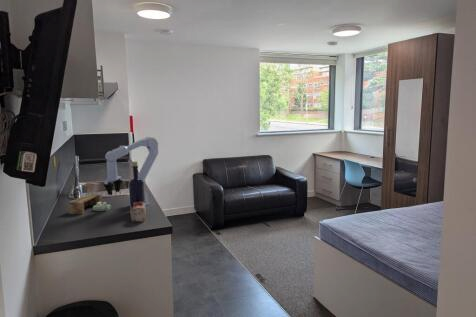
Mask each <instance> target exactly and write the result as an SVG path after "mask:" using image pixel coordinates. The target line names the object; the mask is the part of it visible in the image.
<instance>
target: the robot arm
mask: <svg viewBox="0 0 476 317" xmlns="http://www.w3.org/2000/svg"><path fill="white" fill-rule="evenodd" d="M140 147H146V148H147V151H148V155H147V157H146V158H145V160H144V162H143V164H142V166H141V168H140V170H139V171H138V178H139V179H141V180H142V181H143V182H144V185H145V183H146V178H147V176H148V174H149V173H150V170H151V168H152V166H153V165H154V162H155V161H156V158H157V156H158V155H159V142H158V140H157V139H156V138H155V137H151V136H146V137H143V138H141V139H138V140H137V141H134V142H133V143H131V144H128V145H119V147H117V148H114V149H111V150H109V151H107V152H106V153H105V156H104V158H105V159H106V173H107V174H106V175H107V178H106V179H105V180H104V181H103V186H104V188H105V189H106V192H107V195H108V196H112V195H113V188H114V190H115V193H120V191H121V190H120V189H121V186H122V183H123V179H122V176H121V175H118V173H119V172H118V163H117V160H118V159H119V158H122V157H125V156H126V155H128V154H129V152H130V151H133V150H135V149H138V148H140ZM144 193H145V205H146V206H147V205H150V203H149V197H148V196H149V195H148V193H147V192H146V191H144Z"/></svg>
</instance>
